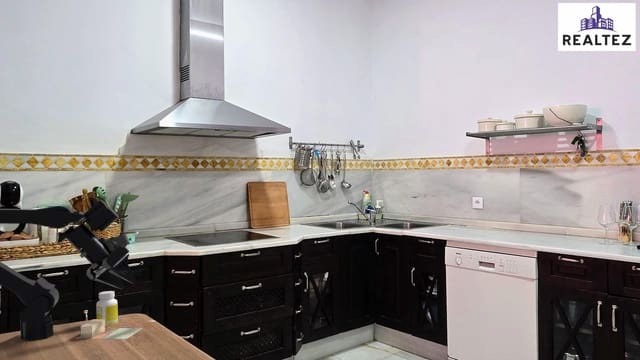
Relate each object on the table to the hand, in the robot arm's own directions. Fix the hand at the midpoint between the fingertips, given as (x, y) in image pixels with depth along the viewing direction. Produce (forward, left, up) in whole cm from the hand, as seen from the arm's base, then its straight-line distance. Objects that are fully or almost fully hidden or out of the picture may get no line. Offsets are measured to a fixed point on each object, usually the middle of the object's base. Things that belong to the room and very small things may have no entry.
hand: (129, 285), depth 130 cm
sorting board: (-2, -6, -12) cm, 14 cm away
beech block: (-6, -7, -11) cm, 15 cm away
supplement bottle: (-8, +3, -13) cm, 15 cm away
